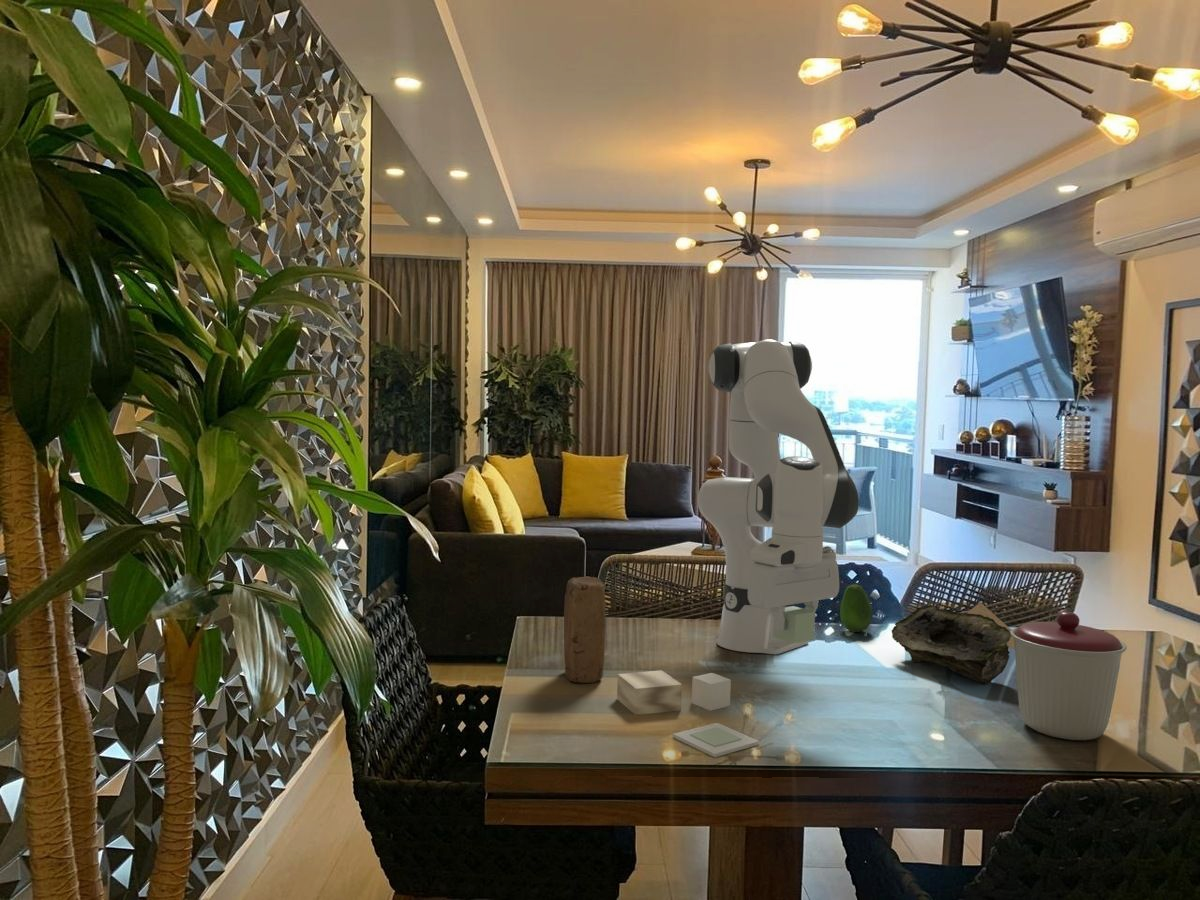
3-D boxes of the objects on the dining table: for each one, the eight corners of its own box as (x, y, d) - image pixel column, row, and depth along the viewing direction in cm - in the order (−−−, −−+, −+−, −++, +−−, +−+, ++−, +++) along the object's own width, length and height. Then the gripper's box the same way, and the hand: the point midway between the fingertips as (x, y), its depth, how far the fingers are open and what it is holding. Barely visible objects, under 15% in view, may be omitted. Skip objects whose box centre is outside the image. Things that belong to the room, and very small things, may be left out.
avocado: (833, 628, 227) (835, 581, 226) (862, 627, 228) (864, 581, 228) (847, 636, 219) (849, 588, 218) (877, 635, 220) (879, 587, 220)
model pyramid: (928, 641, 218) (930, 600, 218) (961, 630, 230) (963, 592, 229) (996, 656, 206) (998, 613, 205) (1027, 644, 218) (1029, 604, 217)
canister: (986, 712, 166) (992, 600, 164) (1080, 712, 167) (1086, 601, 166) (1041, 750, 148) (1048, 624, 146) (1145, 750, 149) (1153, 625, 148)
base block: (660, 696, 171) (661, 670, 170) (681, 711, 162) (681, 684, 162) (617, 700, 168) (617, 674, 167) (635, 716, 159) (636, 688, 159)
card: (716, 726, 155) (716, 721, 154) (759, 744, 146) (759, 739, 146) (672, 737, 149) (673, 732, 149) (714, 757, 141) (714, 752, 141)
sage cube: (792, 633, 161) (793, 606, 161) (813, 639, 157) (815, 611, 157) (773, 637, 158) (774, 609, 158) (794, 643, 154) (795, 615, 154)
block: (605, 684, 176) (608, 584, 175) (567, 685, 174) (570, 584, 173) (595, 668, 186) (598, 573, 185) (560, 669, 185) (562, 574, 184)
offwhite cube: (711, 698, 169) (712, 672, 169) (729, 706, 165) (730, 679, 165) (691, 703, 166) (692, 676, 166) (709, 711, 162) (710, 684, 162)
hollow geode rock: (1005, 714, 179) (1048, 657, 182) (972, 675, 175) (1017, 618, 178) (909, 670, 205) (948, 621, 208) (879, 635, 201) (919, 585, 204)
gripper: (821, 542, 165) (818, 616, 166) (742, 551, 153) (740, 631, 154) (849, 547, 160) (846, 623, 161) (770, 557, 148) (767, 639, 149)
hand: (793, 627), depth 157 cm, fingers closed on sage cube, 5 cm apart
